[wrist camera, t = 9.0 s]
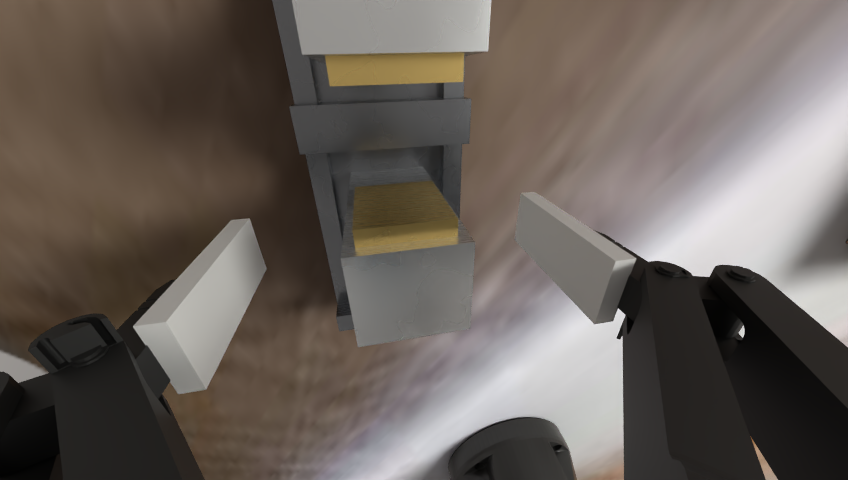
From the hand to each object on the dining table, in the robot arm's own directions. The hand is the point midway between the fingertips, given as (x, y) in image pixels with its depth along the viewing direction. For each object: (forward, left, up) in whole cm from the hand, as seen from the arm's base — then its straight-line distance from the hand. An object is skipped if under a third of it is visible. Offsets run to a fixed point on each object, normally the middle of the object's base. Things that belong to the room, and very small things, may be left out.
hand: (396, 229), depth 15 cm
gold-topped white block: (-2, 0, -3) cm, 4 cm away
